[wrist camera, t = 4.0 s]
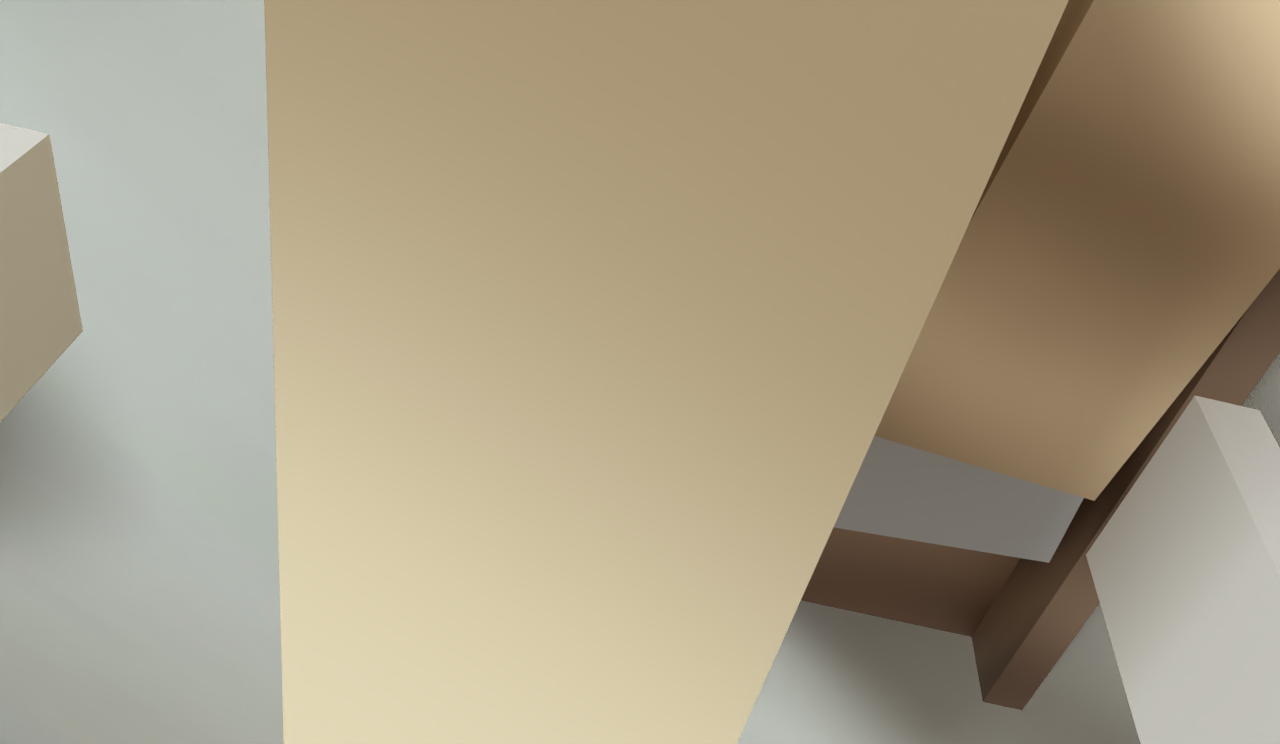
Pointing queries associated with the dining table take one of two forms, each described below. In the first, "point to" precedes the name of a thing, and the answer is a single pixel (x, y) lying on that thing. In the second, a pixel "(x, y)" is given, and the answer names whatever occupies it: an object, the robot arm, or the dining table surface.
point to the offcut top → (1105, 243)
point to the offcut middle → (954, 504)
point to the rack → (1015, 587)
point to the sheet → (595, 337)
